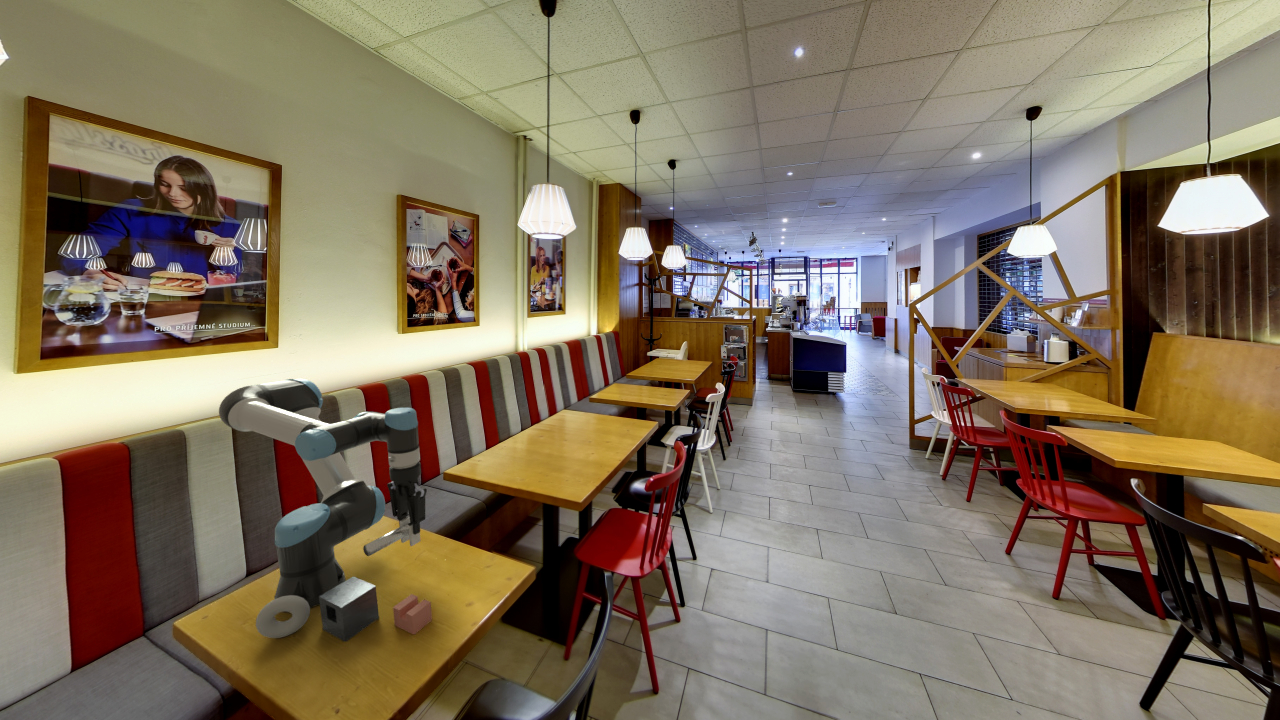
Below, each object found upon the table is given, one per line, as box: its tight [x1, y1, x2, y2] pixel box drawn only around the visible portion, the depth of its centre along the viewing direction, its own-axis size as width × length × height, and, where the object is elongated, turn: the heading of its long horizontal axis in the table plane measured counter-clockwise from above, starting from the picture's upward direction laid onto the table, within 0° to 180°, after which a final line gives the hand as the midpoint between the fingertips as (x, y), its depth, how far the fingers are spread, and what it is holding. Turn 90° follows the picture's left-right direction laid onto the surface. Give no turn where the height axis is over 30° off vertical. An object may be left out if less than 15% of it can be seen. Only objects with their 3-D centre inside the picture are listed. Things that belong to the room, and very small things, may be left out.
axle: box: [362, 522, 410, 557], centre depth 109 cm, size 3×14×3 cm, turn 158°
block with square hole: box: [319, 576, 380, 643], centre depth 99 cm, size 9×8×9 cm
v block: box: [392, 593, 433, 635], centre depth 100 cm, size 7×5×5 cm
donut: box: [255, 595, 311, 639], centre depth 96 cm, size 10×4×10 cm, turn 117°
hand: (410, 541), depth 114 cm, fingers closed on axle, 3 cm apart
